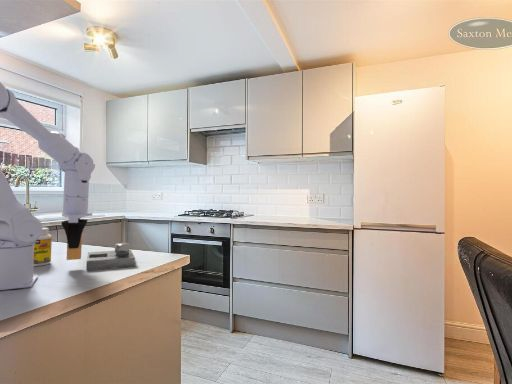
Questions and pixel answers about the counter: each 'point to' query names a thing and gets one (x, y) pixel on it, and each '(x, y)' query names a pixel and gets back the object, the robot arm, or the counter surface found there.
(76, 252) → the orange rectangular box
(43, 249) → the supplement bottle
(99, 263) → the gray tray with knob
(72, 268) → the counter surface
